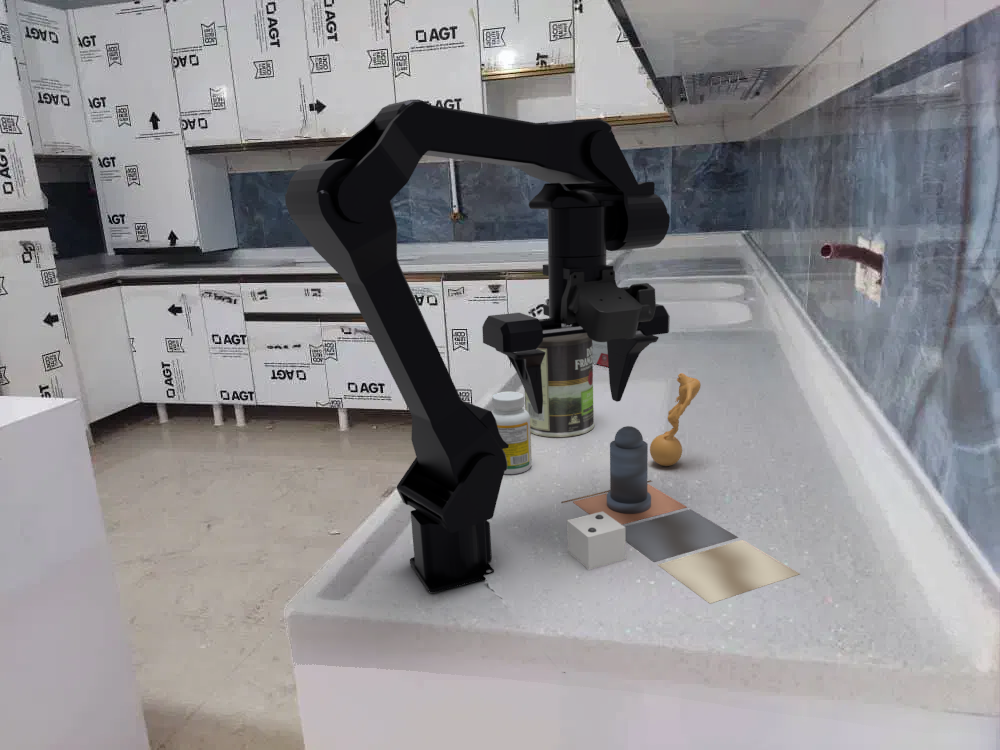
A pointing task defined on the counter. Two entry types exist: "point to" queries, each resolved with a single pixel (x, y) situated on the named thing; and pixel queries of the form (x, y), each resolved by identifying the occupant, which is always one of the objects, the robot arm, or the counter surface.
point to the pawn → (628, 473)
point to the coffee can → (565, 387)
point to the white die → (596, 540)
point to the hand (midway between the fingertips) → (578, 406)
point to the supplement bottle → (513, 430)
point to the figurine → (674, 424)
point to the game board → (693, 548)
